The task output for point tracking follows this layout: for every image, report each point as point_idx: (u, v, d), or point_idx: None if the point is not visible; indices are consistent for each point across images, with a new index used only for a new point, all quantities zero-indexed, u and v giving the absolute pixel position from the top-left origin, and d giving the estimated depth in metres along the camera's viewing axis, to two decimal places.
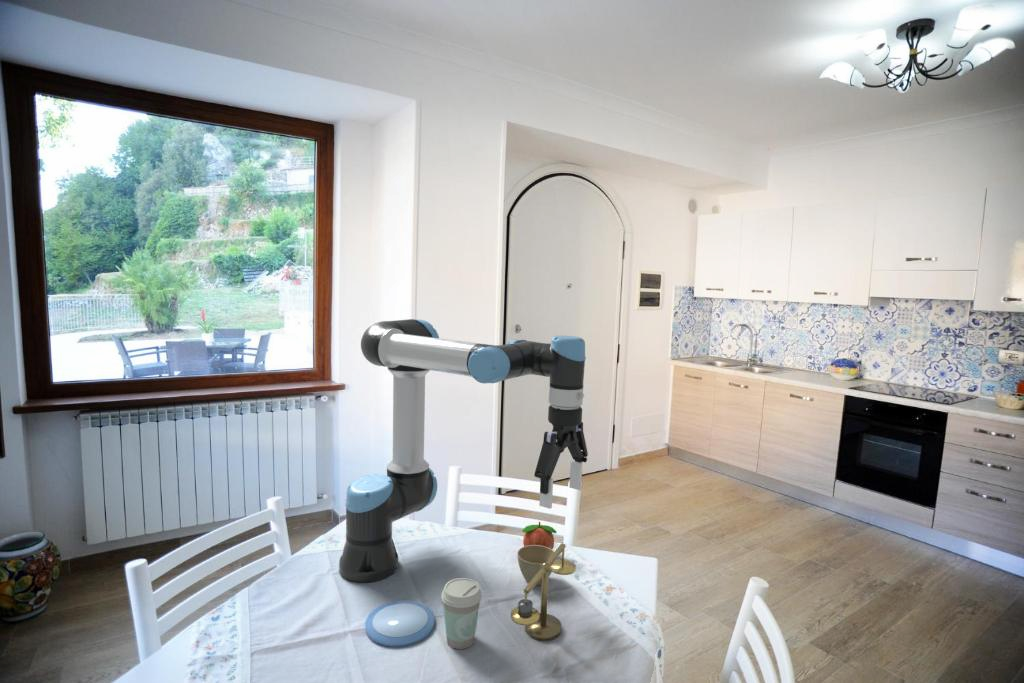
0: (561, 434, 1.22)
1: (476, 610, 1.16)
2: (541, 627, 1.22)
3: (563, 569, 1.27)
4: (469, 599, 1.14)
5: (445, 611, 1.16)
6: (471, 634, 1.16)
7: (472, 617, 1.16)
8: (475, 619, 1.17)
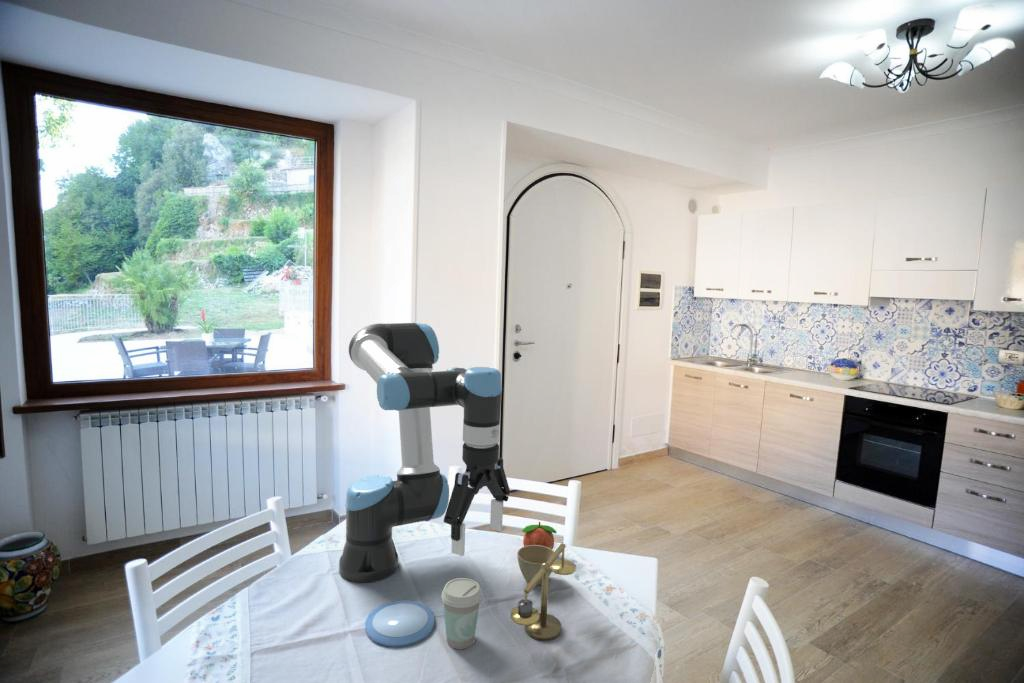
0: (475, 475, 1.12)
1: (476, 610, 1.16)
2: (541, 627, 1.22)
3: (563, 569, 1.27)
4: (469, 599, 1.14)
5: (445, 611, 1.16)
6: (471, 634, 1.16)
7: (472, 618, 1.16)
8: (475, 619, 1.17)
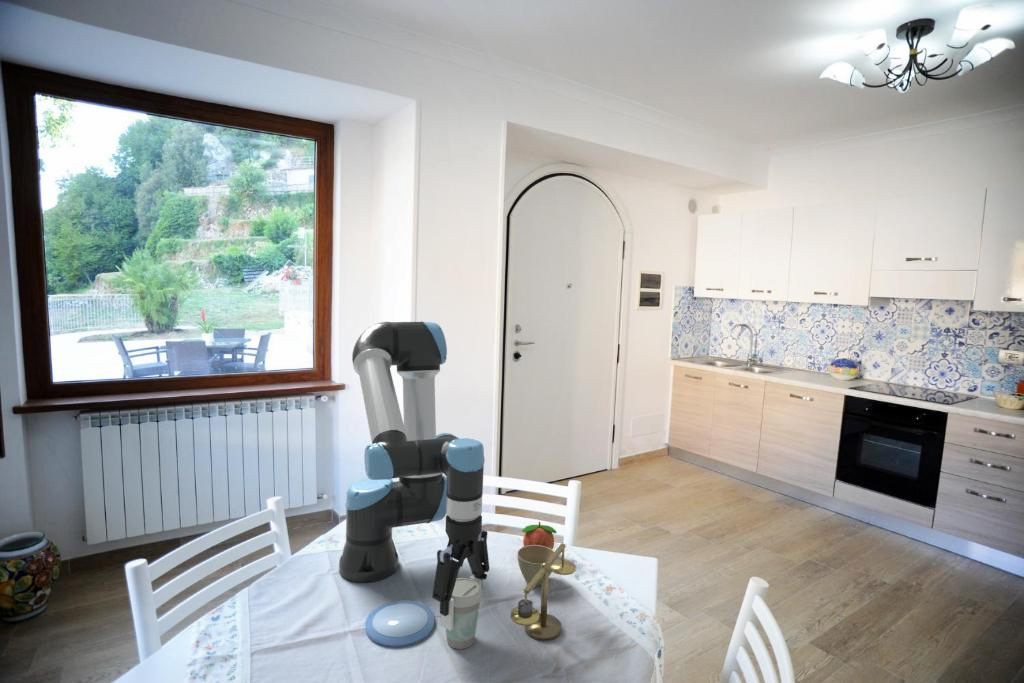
0: (457, 548, 1.13)
1: (476, 610, 1.16)
2: (541, 627, 1.22)
3: (563, 569, 1.27)
4: (469, 598, 1.14)
5: None
6: (471, 634, 1.16)
7: (472, 617, 1.16)
8: (475, 619, 1.17)
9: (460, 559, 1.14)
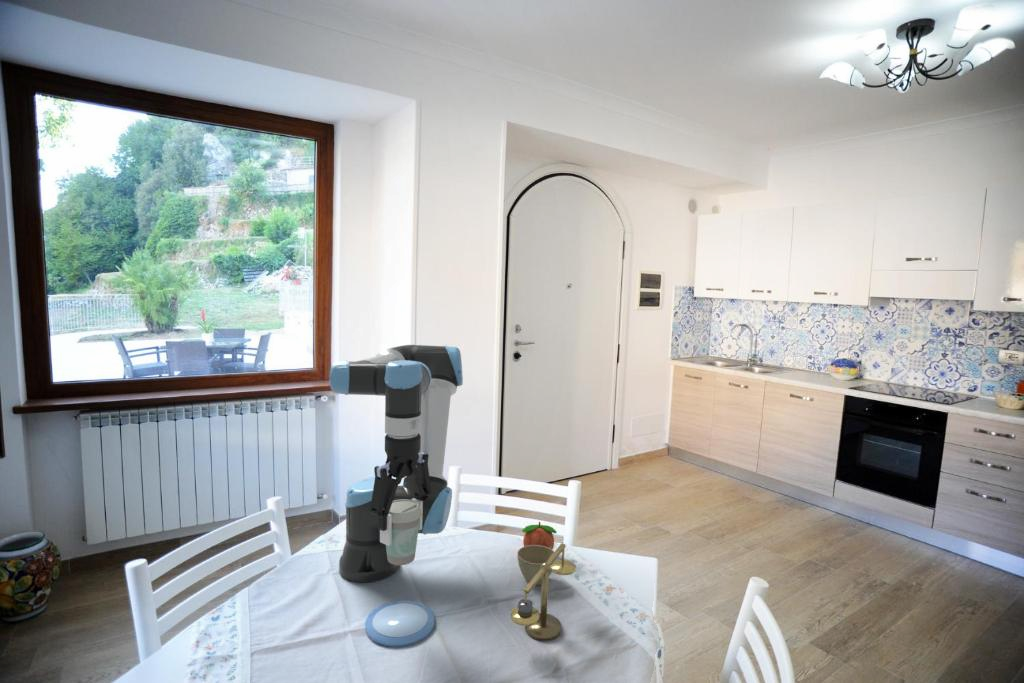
0: (394, 465, 1.16)
1: (415, 527, 1.19)
2: (541, 627, 1.22)
3: (563, 569, 1.27)
4: (407, 515, 1.17)
5: None
6: (410, 551, 1.19)
7: (411, 534, 1.18)
8: (414, 536, 1.19)
9: (398, 476, 1.16)
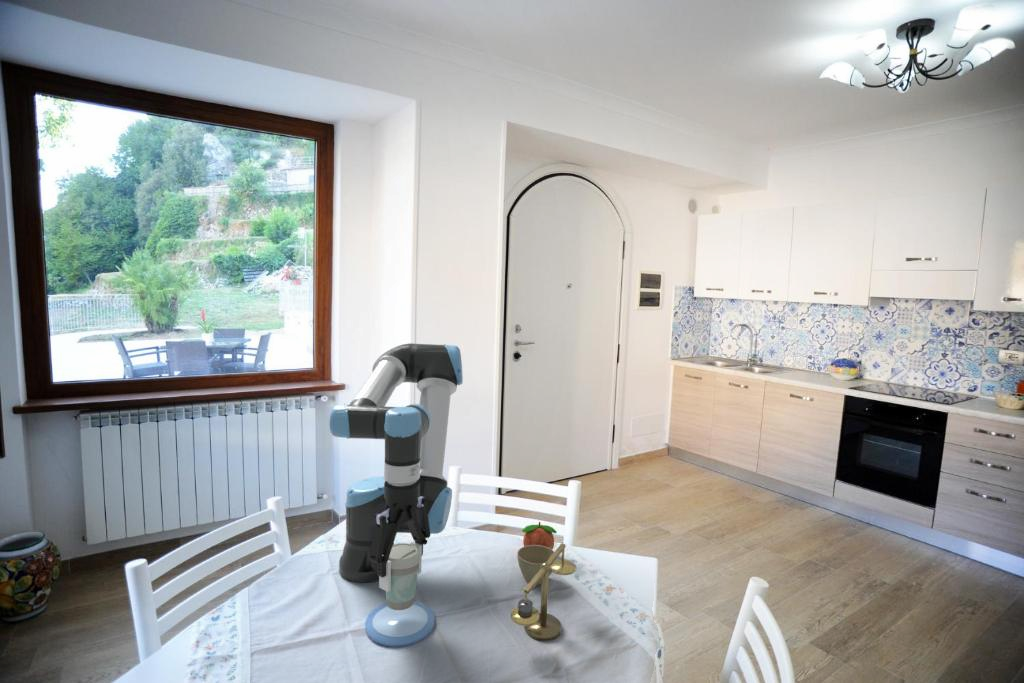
0: (394, 511, 1.17)
1: (414, 573, 1.20)
2: (541, 627, 1.22)
3: (563, 569, 1.27)
4: (406, 561, 1.18)
5: None
6: (409, 596, 1.20)
7: (410, 580, 1.19)
8: (413, 581, 1.21)
9: (397, 522, 1.17)
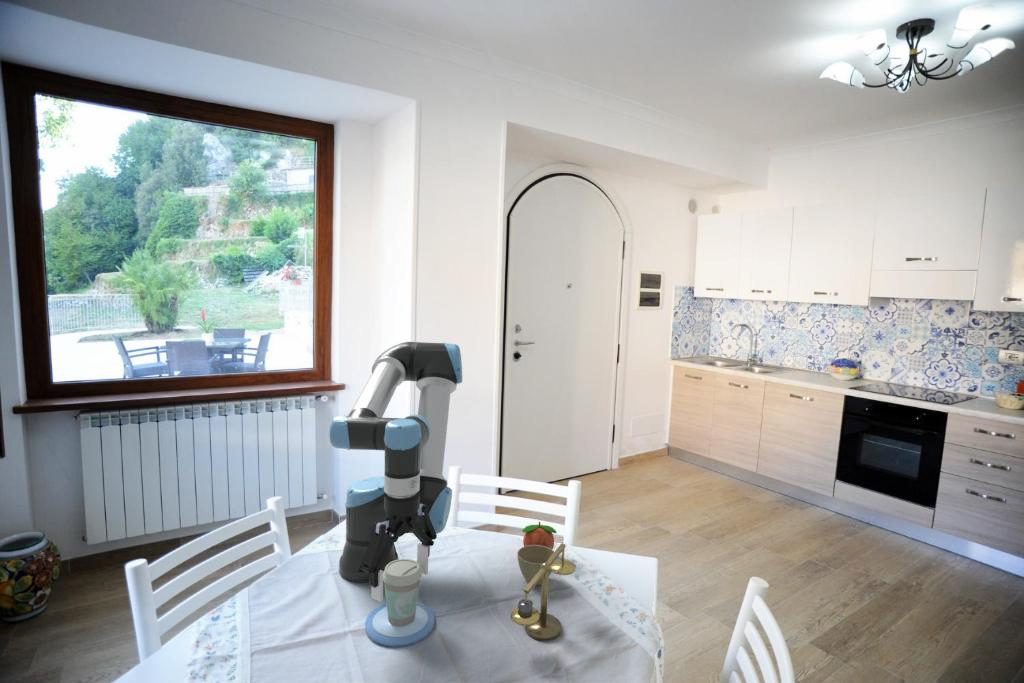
0: (394, 523, 1.17)
1: (415, 589, 1.21)
2: (541, 627, 1.22)
3: (563, 569, 1.27)
4: (407, 578, 1.19)
5: (385, 590, 1.21)
6: (410, 612, 1.21)
7: (411, 596, 1.20)
8: (414, 598, 1.21)
9: (397, 534, 1.18)
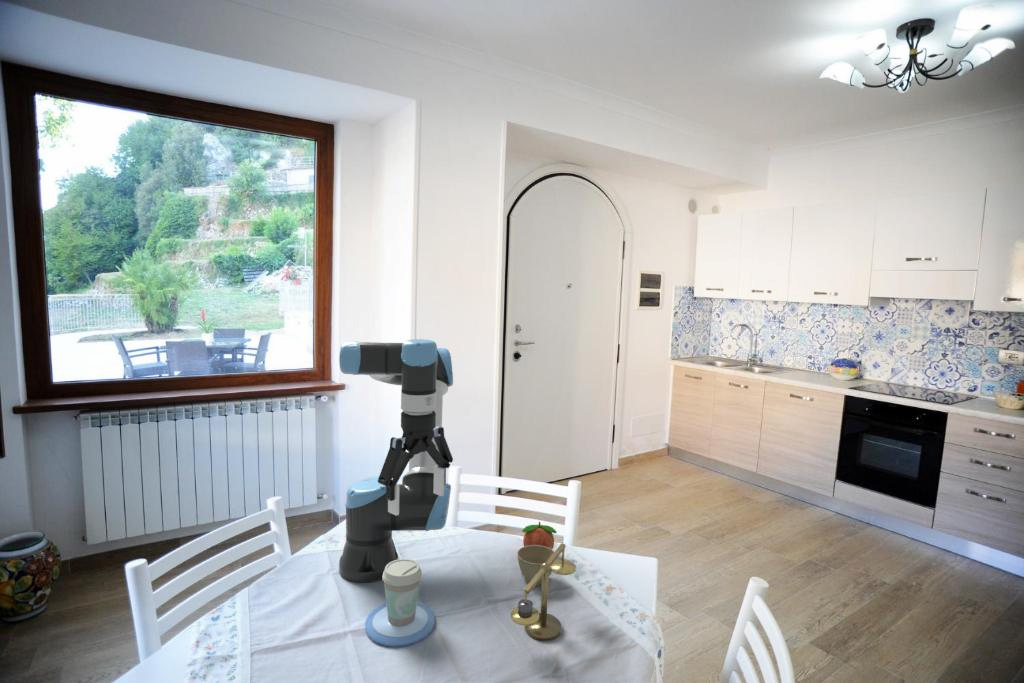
0: (410, 440, 1.19)
1: (415, 589, 1.21)
2: (541, 627, 1.22)
3: (563, 569, 1.27)
4: (407, 577, 1.19)
5: (385, 590, 1.21)
6: (410, 612, 1.21)
7: (411, 596, 1.20)
8: (414, 598, 1.21)
9: (413, 451, 1.20)
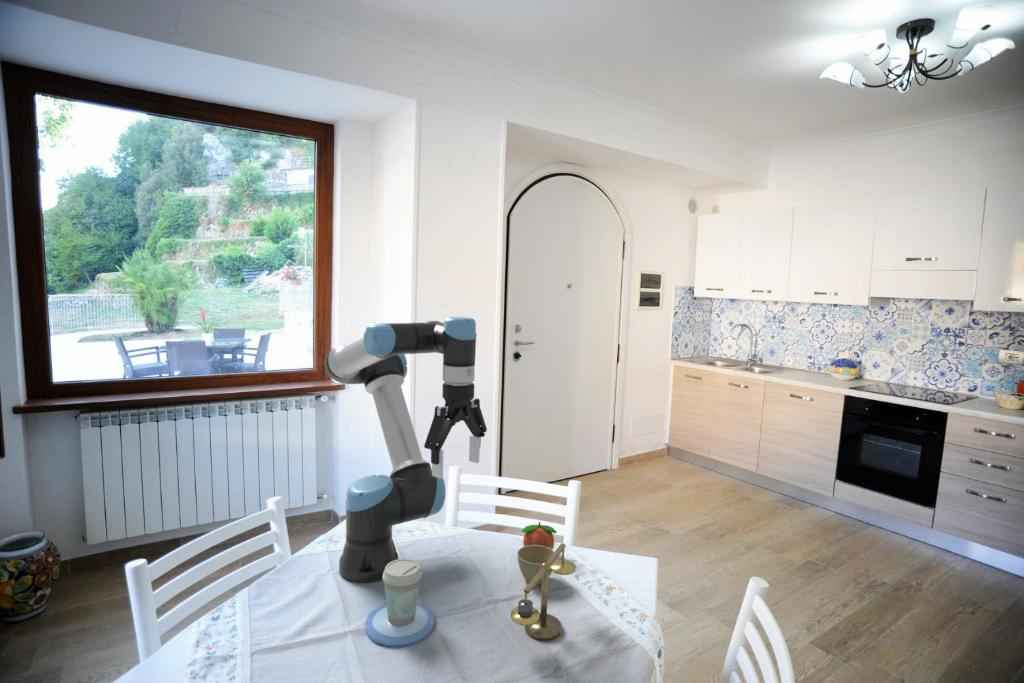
0: (452, 408, 1.30)
1: (415, 589, 1.21)
2: (541, 627, 1.22)
3: (563, 569, 1.27)
4: (407, 577, 1.19)
5: (385, 590, 1.21)
6: (410, 612, 1.21)
7: (411, 596, 1.20)
8: (414, 598, 1.21)
9: (455, 419, 1.30)
